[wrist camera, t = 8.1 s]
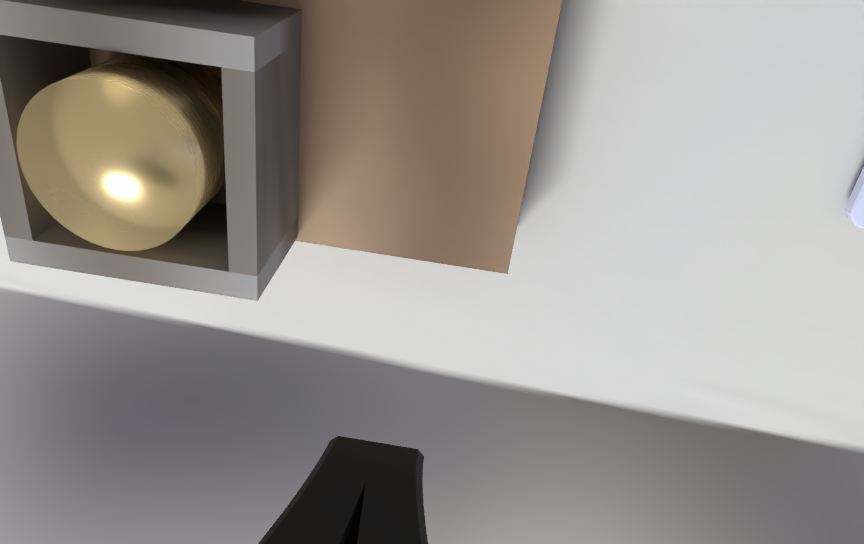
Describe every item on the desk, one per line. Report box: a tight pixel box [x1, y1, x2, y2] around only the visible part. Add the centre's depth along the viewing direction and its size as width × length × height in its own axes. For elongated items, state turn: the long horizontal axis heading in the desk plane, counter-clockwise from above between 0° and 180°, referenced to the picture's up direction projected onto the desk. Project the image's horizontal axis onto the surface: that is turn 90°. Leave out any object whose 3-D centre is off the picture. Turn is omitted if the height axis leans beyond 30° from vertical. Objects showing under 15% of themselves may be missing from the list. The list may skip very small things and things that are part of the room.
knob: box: [17, 53, 226, 251], centre depth 14 cm, size 3×3×3 cm
